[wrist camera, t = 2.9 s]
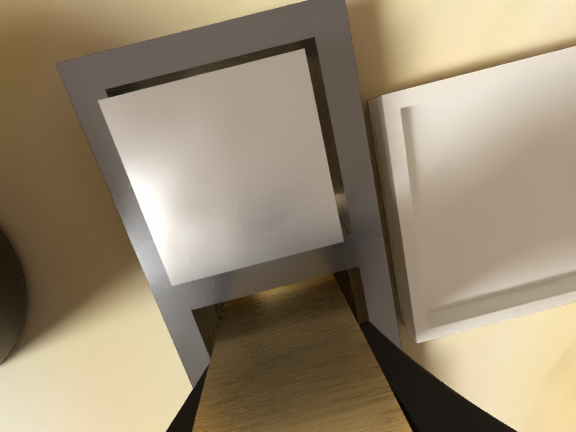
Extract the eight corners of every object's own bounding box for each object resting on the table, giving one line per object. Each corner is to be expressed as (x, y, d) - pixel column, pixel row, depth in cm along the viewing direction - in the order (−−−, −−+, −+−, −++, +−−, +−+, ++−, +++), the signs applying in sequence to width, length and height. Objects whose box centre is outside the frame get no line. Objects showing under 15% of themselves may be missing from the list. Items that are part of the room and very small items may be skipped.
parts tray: (606, 270, 12) (643, 283, 11) (402, 323, 12) (416, 343, 11) (624, 35, 10) (673, 21, 8) (367, 101, 9) (381, 95, 8)
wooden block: (346, 348, 12) (451, 616, 5) (255, 372, 12) (242, 674, 5) (328, 264, 11) (429, 465, 4) (228, 290, 11) (165, 535, 4)
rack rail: (407, 469, 14) (460, 593, 10) (267, 506, 14) (268, 645, 10) (326, 24, 9) (373, -69, 5) (101, 81, 9) (-30, 32, 5)
